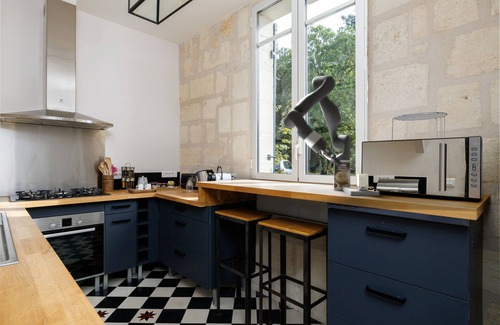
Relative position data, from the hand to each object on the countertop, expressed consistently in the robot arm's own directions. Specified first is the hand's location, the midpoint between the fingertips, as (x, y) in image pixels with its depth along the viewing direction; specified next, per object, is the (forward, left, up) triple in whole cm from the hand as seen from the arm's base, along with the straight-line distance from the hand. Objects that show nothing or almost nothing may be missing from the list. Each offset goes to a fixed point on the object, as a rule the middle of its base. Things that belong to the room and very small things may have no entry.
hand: (339, 164), depth 138 cm
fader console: (-6, +11, -15) cm, 19 cm away
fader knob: (0, +11, -12) cm, 17 cm away
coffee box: (-24, +5, -15) cm, 29 cm away
